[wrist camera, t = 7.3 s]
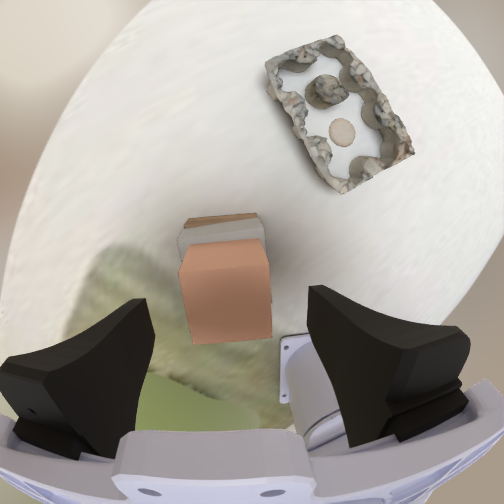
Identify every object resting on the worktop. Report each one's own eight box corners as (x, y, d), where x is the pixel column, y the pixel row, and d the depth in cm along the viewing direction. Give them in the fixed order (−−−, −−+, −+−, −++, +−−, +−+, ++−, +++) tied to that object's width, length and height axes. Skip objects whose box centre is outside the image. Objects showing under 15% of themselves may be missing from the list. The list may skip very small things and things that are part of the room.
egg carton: (391, 156, 20) (421, 159, 16) (319, 196, 20) (339, 206, 16) (333, 43, 16) (354, 24, 12) (251, 74, 17) (257, 55, 13)
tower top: (266, 285, 20) (272, 303, 17) (198, 295, 19) (194, 314, 17) (258, 217, 18) (263, 226, 15) (183, 229, 18) (176, 239, 15)
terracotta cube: (262, 299, 17) (272, 337, 13) (199, 305, 17) (193, 344, 13) (259, 238, 16) (269, 264, 12) (189, 244, 15) (178, 272, 12)
